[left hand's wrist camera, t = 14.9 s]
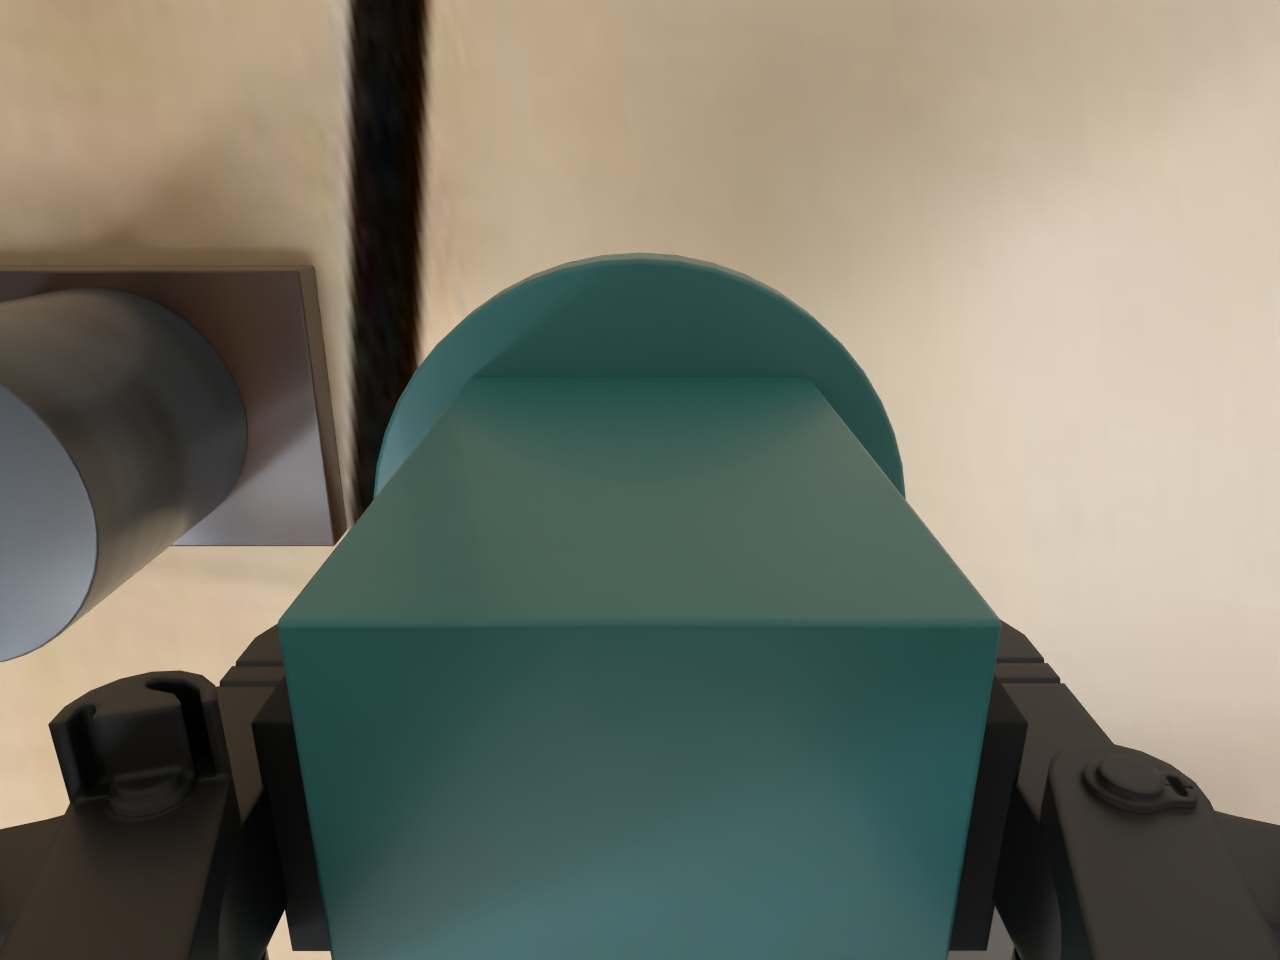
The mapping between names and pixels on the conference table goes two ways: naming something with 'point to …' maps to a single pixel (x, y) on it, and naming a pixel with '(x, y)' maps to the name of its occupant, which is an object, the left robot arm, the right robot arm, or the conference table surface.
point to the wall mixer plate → (154, 427)
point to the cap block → (639, 646)
